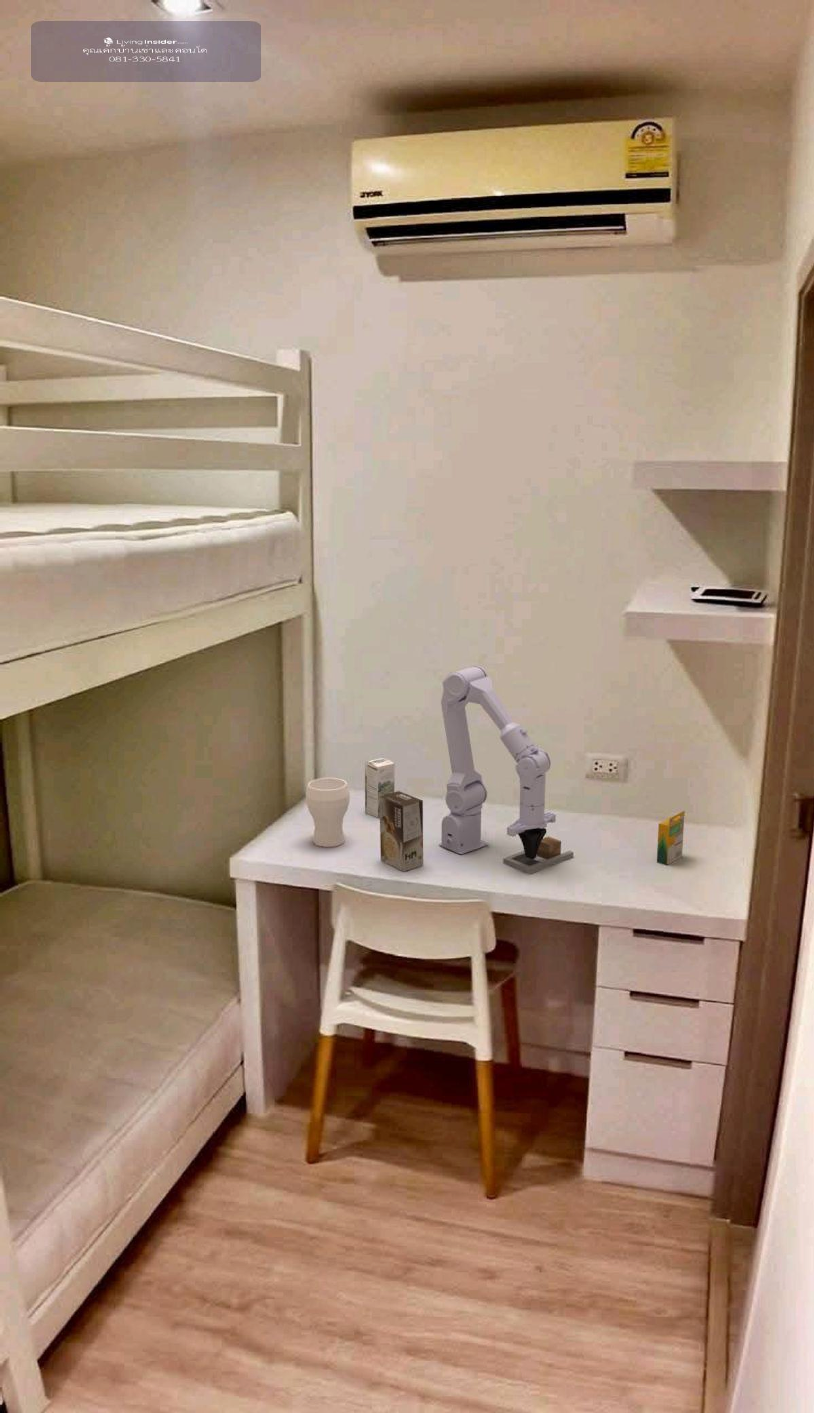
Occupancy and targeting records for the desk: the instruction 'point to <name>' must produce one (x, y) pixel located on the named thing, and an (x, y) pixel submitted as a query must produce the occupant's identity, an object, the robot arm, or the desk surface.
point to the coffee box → (401, 830)
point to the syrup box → (378, 783)
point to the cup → (328, 809)
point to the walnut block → (549, 848)
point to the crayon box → (670, 839)
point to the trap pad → (528, 861)
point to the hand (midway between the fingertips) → (530, 857)
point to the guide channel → (514, 863)
